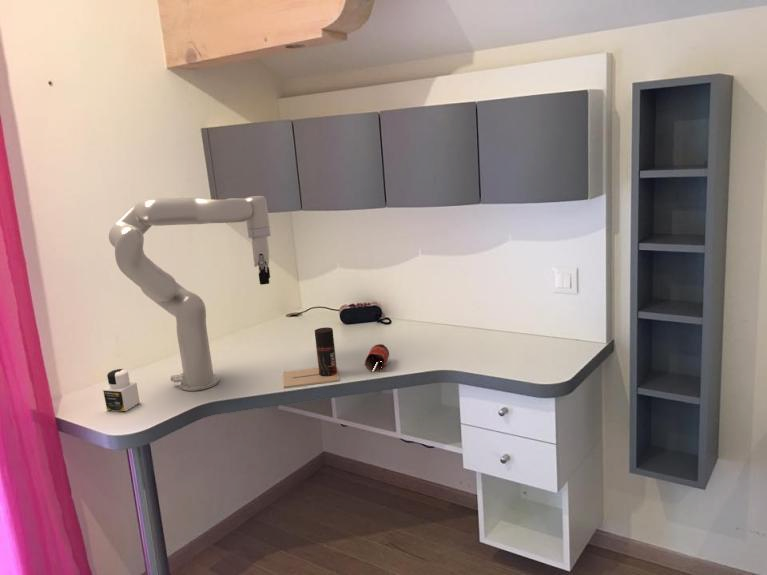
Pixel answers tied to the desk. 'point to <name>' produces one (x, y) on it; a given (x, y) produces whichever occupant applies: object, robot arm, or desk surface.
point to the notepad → (306, 378)
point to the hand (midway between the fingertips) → (265, 281)
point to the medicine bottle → (120, 391)
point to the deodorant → (325, 351)
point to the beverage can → (377, 356)
